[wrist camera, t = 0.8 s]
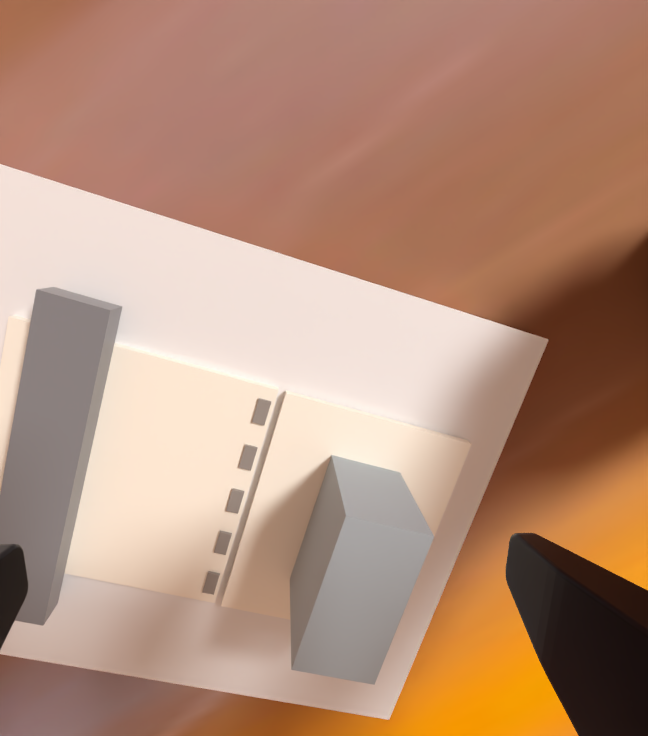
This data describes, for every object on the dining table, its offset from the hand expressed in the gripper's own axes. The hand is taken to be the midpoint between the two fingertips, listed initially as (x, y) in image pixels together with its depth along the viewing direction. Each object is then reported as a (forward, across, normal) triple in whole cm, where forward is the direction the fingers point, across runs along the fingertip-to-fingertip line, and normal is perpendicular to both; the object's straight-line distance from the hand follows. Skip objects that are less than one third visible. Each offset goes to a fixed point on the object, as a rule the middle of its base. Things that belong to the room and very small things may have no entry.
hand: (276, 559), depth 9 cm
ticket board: (+12, +2, +4) cm, 13 cm away
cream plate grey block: (+10, -3, +6) cm, 12 cm away
